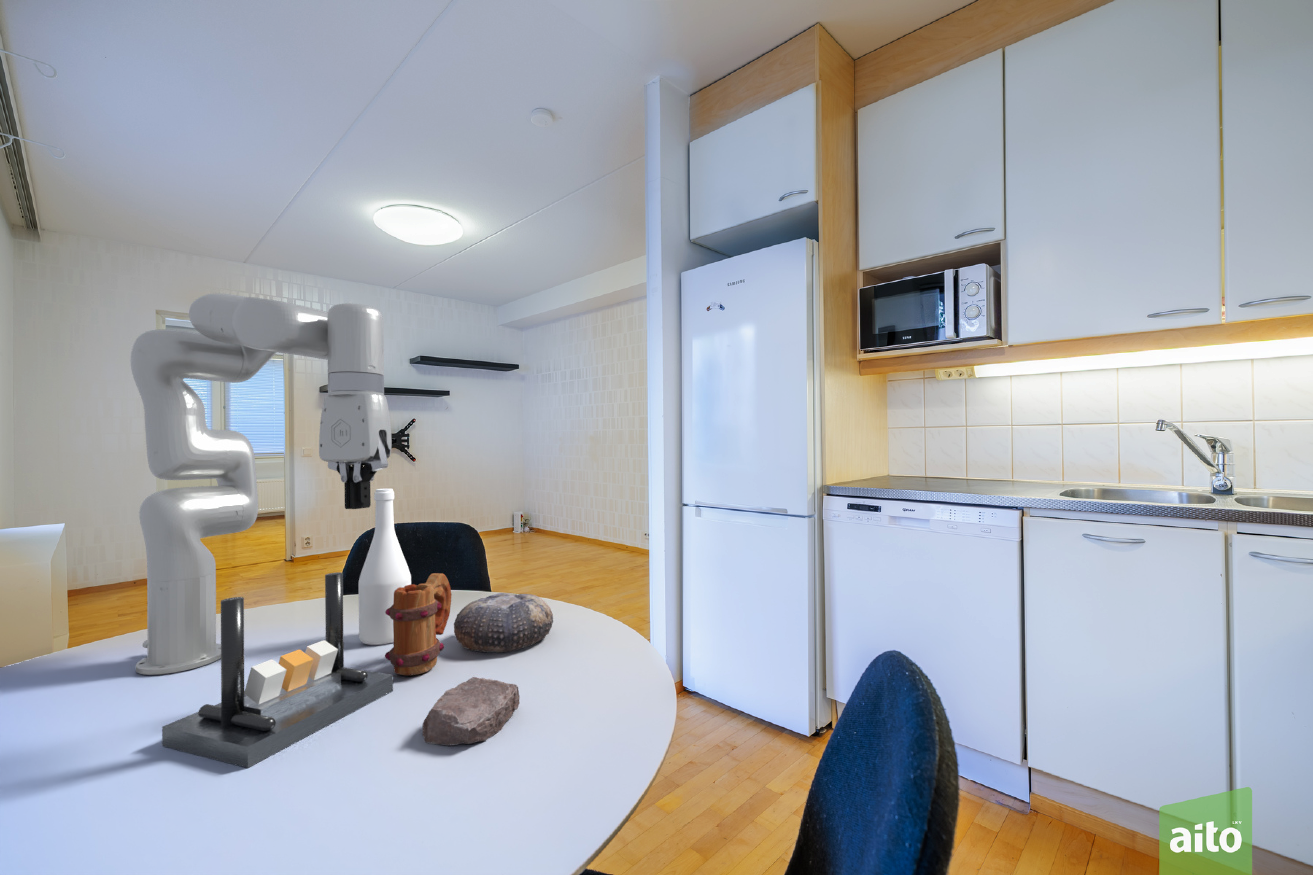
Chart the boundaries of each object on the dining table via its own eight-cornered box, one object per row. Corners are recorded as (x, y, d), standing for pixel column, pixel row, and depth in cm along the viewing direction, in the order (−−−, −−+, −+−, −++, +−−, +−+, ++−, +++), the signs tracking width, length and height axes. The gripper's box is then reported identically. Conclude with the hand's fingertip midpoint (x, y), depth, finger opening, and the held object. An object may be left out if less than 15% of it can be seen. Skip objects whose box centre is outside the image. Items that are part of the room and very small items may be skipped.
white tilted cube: (243, 693, 75) (251, 666, 74) (264, 684, 77) (272, 659, 77) (258, 704, 74) (266, 677, 73) (279, 695, 76) (286, 669, 76)
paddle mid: (273, 681, 78) (280, 656, 78) (292, 673, 81) (299, 649, 81) (287, 691, 77) (295, 666, 77) (306, 683, 80) (313, 658, 80)
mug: (419, 683, 89) (418, 590, 90) (374, 680, 91) (373, 588, 91) (467, 650, 104) (466, 570, 104) (428, 648, 105) (427, 569, 106)
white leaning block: (300, 670, 82) (307, 646, 82) (317, 663, 85) (324, 639, 84) (313, 680, 81) (321, 655, 81) (330, 672, 84) (338, 649, 83)
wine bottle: (381, 629, 118) (379, 487, 118) (421, 631, 116) (419, 487, 116) (347, 645, 108) (346, 491, 109) (390, 647, 106) (389, 490, 107)
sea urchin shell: (545, 654, 100) (534, 599, 100) (443, 674, 100) (432, 620, 100) (563, 620, 119) (554, 574, 119) (477, 637, 119) (468, 591, 119)
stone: (475, 754, 68) (475, 716, 69) (415, 745, 71) (415, 708, 71) (525, 711, 80) (525, 678, 80) (472, 704, 82) (471, 672, 83)
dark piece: (162, 746, 72) (161, 601, 72) (317, 678, 92) (316, 566, 93) (247, 767, 66) (246, 611, 67) (392, 690, 87) (391, 572, 87)
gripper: (297, 388, 84) (298, 510, 83) (374, 382, 79) (375, 512, 78) (341, 392, 91) (342, 504, 90) (414, 387, 86) (415, 506, 85)
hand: (357, 507), depth 84 cm, fingers closed
